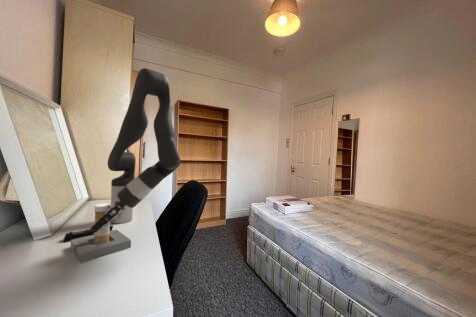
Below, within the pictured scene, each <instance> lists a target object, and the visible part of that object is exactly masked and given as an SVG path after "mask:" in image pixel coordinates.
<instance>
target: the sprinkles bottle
mask: <svg viewBox="0 0 476 317" xmlns="http://www.w3.org/2000/svg"><path fill="white" fill-rule="evenodd" d="M109 208H111V203H98V204H95V205H94V214H95V216H94V224H95V223H97V222H98V221H99V219H100V218H102V217H103V216H104V215H105V212H106V211H107V210H108V209H109ZM108 212H109V211H108ZM104 219H105V220H108V219H107V218H106V217H104ZM110 226H111V222H110V221H109V222H108V223H107V224H105V225H103V226H102V227H101V228H100V229H99V230H98V231H97V232H94V235H95V236H94V245H99V244H102V243H106V242H109V232H110Z"/></svg>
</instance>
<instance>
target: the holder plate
mask: <svg viewBox="0 0 476 317" xmlns="http://www.w3.org/2000/svg"><path fill="white" fill-rule="evenodd" d="M94 236H95V235H90V236H86V237H82V238H77V239H73V240H70V248H71V250H72V251H73V252H72V253H74V254H75V256H76V258H77V260H78V261H79V263H84V262H87V261H90V260H93V259H97V258H100V257H103V256H107V255H110V254H113V253H116V252H119V251H123V250H126V249H130V248H131V247H132V246H131V245H132V240H131V239H130V238H129V237H128V236H126V235H125V234H124V233H123V232H120V231H119V229H112V231H110V232H109V242H106V243H102V244H99V245H94Z"/></svg>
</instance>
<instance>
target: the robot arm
mask: <svg viewBox="0 0 476 317" xmlns="http://www.w3.org/2000/svg"><path fill="white" fill-rule="evenodd" d="M134 81H135V82H134V85H133V90H132V92H131V99H130V101H129V104H128V108H127V111H126V113H125V116H124V118H123V121H122V123H121V127H120V129H119V133H118V136H117V138H116V140H115V143H114V145H113V147H112V149H111V151H110V153H109V156H108V159H107V168H108V170H110V171H112V172H123V173H122V174H120V176H117V177H116V178H112V180H111V182H110V184H111V185H110V186H111V187H110V189H111V190H110V205H111V208H109V209H108V210H107V211H106V212H105V215H104V216H103V217H102V218H100V219H99V221H98V222H97V223H95V222H94V224H93V225H92V226H91V227H90V228H89V229H91V230H92V231H93V232H97V231H98V230H99V229H100V228H101V227H102V226H103V225H105V224H107V223H108V222H109V221H110V224H111V223H112V224H125V223H128V222H131V221H132V220H133V208H135V207H136V206H137V205H139V203H140V202H142V201H143V200H144V199H145V198H146V197H147V196H148V195H149V194H150V193H151V192H152V191H153V189H155V188H156V187H157V186H158V185H159V184H160V183H161V182H162V181H163V180H164V179H165V178H167V177H168V176H169V175H171V174H173V172H174V171H176V170H177V169H178V168H179V167H180V166H181V165H180V164H181V162H182V161H181V157H180V155H179V152H178V149H177V145H176V135H175V130H174V125H173V121H172V120H173V119H172V109H171V107H172V105H171V104H172V103H171V102H172V101H171V88H170V87H171V86H170V81H169V78H168V77H167V76H166V74H163V73H161V72H159V71H155V70H153V69H150V68H146V67H144V68H141V69H140V70H139V71H138V73H137V75H136V78H135V80H134ZM147 95H149V96H154V97H157V99H158V104H159V106H158V110H157V112H156V115H155V117H154V121H153V131H154V135H155V139H156V144H157V145H156V146H157V157H158V161H157V162H156V163H154V164H153V165H152V166H148V167H147V168H145V169H144V170H143V171H141V173H140V174H139V175H137V176H135V174H136V163H137V162H136V156H135V154H134V153H133V152H129V151H128V152H127V151H126V150H128V149H129V148H130V147H131V146H133V145H135V144H136V143H138V142H139V140H140V139H142V138H143V136H144V135H145V132H146V130H147V128H148V124H149V121H148V116H147V113H146V109H145V101H146V98H147ZM108 211H109V212H108ZM104 217H106V218H107V219H108V220H105V219H104Z"/></svg>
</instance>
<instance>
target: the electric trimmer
mask: <svg viewBox="0 0 476 317" xmlns="http://www.w3.org/2000/svg"><path fill="white" fill-rule="evenodd" d="M113 228H114V226H113V225H110V231H112V230H113ZM90 235H94V232H93V231H92V230H91V229H90V228H89V229H84V230H80V231H75V232H74V231H69V232H66V234H65V235H64V237H63V239H62V243H67V242H68V241H71V240H73V239H77V238H82V237H86V236H90Z"/></svg>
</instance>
